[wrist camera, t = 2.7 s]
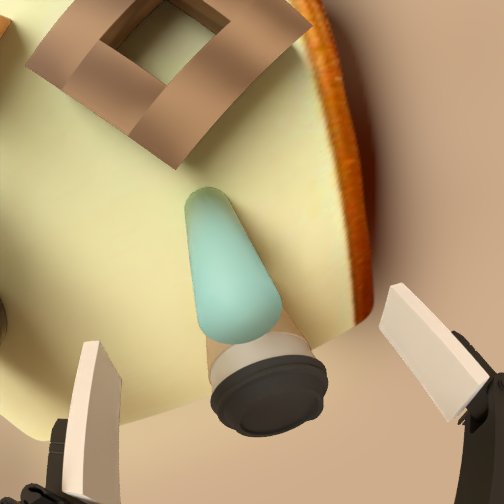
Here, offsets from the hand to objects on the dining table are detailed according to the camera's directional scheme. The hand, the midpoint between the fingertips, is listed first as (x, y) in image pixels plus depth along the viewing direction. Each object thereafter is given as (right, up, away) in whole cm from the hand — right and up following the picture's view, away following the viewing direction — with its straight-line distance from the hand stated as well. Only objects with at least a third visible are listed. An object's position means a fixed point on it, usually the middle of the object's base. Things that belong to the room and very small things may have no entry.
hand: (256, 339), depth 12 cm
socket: (-7, +20, +5) cm, 22 cm away
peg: (-4, +7, +13) cm, 16 cm away
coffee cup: (-2, -1, +19) cm, 19 cm away
